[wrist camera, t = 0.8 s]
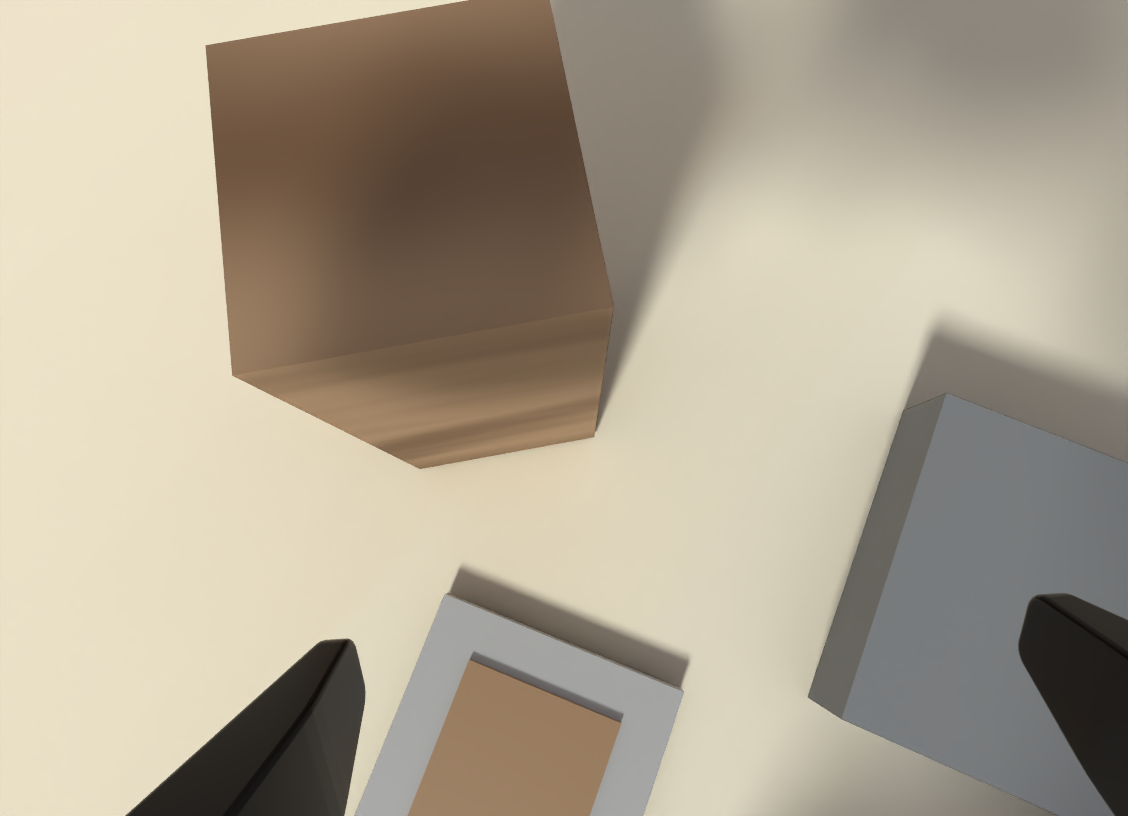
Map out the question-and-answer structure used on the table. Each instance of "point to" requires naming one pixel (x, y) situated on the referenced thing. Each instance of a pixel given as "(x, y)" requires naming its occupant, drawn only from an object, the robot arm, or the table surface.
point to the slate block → (974, 595)
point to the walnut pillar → (412, 229)
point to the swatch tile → (519, 726)
